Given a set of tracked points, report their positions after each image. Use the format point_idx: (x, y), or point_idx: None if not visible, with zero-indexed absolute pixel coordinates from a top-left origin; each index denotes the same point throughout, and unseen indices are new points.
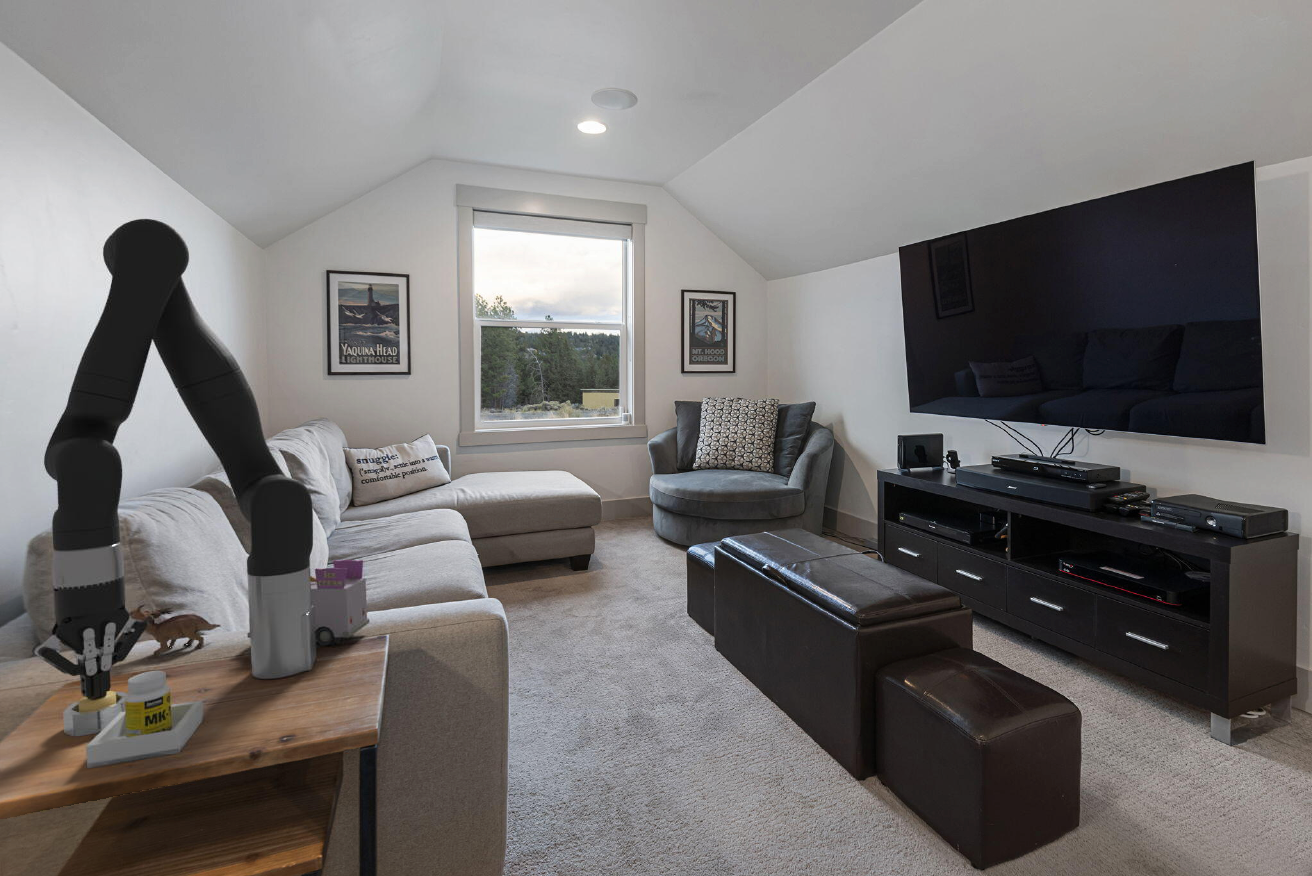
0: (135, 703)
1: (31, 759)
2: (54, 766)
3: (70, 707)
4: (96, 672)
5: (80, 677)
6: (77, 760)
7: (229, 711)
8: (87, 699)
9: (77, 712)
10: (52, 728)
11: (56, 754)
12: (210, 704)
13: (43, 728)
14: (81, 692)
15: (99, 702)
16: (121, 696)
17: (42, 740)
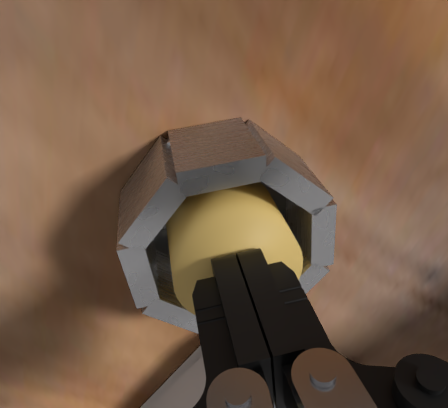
0: None
1: (22, 314)
2: (71, 381)
3: (149, 222)
4: (276, 392)
5: (205, 371)
6: (116, 383)
7: None
8: (206, 272)
9: (156, 296)
10: (92, 105)
11: (81, 327)
12: (422, 302)
13: (61, 68)
14: (193, 299)
15: None
16: (310, 254)
17: (53, 200)
